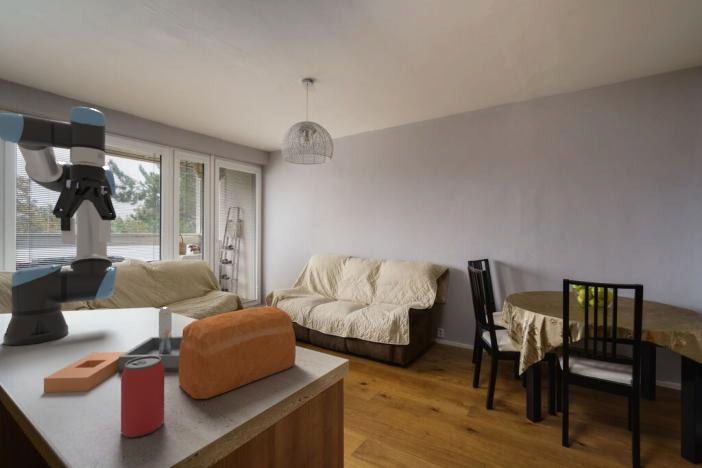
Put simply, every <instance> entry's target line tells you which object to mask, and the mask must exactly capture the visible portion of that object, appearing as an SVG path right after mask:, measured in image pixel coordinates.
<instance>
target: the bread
mask: <svg viewBox="0 0 702 468" xmlns="http://www.w3.org/2000/svg"><path fill="white" fill-rule="evenodd" d="M295 334H296V333H295V330H294V326H293V319H292V317H291V316H290V314H288V313H287V312H286V311H285V310H283V309H281V308H279V307H278V306H272V305H268V306H260V307H259V306H258V307H253V308H252V307H250V308H245V309H239V310H234V311H228V312H227V311H226V312H223V313H219V314H215V315H211V316H208V317H204V318H201V319H197V320H193V321H192V322H190V323H189V324H187V325H185V326H184V327H183V329H182V342H181V345H180V350H179V371H178V383H179V385H180V387H181V389H182V390H183V391H184V392H186V394H188V395H189V396H190V397H192V399H196V400H206V399H210V398H213V397H216V396H218V395H221V394H224V393H226V392H229V391H232V390H234V389H238V388H240V387H242V386H245V385H247V384H251V383H253V382H255V381H258V380H260V379H264V378H267V377H269V376H272V375H274V374H277V373H279V372H282V371H285V370H289V368H291V367H294V366H295V365H296V355H297V354H296V353H297V352H296V335H295Z"/></svg>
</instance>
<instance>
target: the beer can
mask: <svg viewBox="0 0 702 468" xmlns="http://www.w3.org/2000/svg"><path fill="white" fill-rule="evenodd" d="M164 422H165V372H164V366H163V364H162V362H161V358H160V357H159V356H144V357H139V358H135V359H132V360H130V361H128V362H127V363H126V364H125V368H124V371H123V373H121V378H120V432H121V434H122V435H123V436H124V437H126V438H140V437H144V436H147V435H150V434H151V433H154V432H155V431H157V430H159V428H160V427H161V426H162V425H163V424H164Z"/></svg>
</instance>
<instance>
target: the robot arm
mask: <svg viewBox="0 0 702 468" xmlns="http://www.w3.org/2000/svg"><path fill="white" fill-rule="evenodd" d="M106 124H107V123H106V115H105V114H104V113H103V112H102V111H100V110H97V109H94V108H92V107H91V108H90V107H87V106H73V107H71V109H70V115H69V122H68V121H67V122H66V121H61V120H56V119H55V120H54V119H49V118H48V119H47V118H42V117H37V116H30V115H23V114H20V113H8V112H2V113H0V139H1V140H2V141H4V142H9V143H12V144H16V145H17V147H18V149H19V152H20V153H21V156H22V157H23V159H24V162H25V165H24V169H25V170H24V171H25V172H26V175H27V176H28V178H30V180H32V182H34V183H36V184H37V185H39V186H41V187H43V188H45V189H46V190H50V191H52V192H57V193H60V194H59V196H58V198H57V200H56V203H55V206H54V208H53V210H52V215H53V216H54V217H55V218H56V219H60V230H61V231H60V232H61V245H76V259H74V260H72V261H71V262H70V267H67V268H63V266H62V265H61V264H59V263H57V264H48V265H47V264H46V265H40V266H33V267H27V268H22V269H19V270H16V271H14V272H13V274H12V275H11V284H10V287H11V316H10V317H11V318H10V321H9V322H8V324H7V325H8V326H7V327H6V331H5V333H4V334H3V345H6V346H25V345H27V346H28V345H34V344H39V343H44V342H49V341H53V340H57V339H60V338H62V337H64V336H66V335H68V334H69V325H68V324H67V321H66V319H65V316H64V314H63V312H62V304H68V303H79V302H87V301H90V302H91V301H98V300H104V299H109V298H111V297H112V296H113V294H114V290H115V289H114V288H115V284H116V283H115V282H116V276H117V270H118V269H117V268H118V267H117V266H116V265H113V261H112V260H111V259H110V258H108V254H107V253H108V250H107V249H108V248H107V247H108V246H107V245H108V243H111V240H112V239H111V232H112V231H111V229H112V227H111V225H112V221H115V220H116V218H117V214H116V210H115V207H114V204H113V201H112V197H114V196H116V181H115V177H114V172H113V170H112V169H111V168H110V167H108V166H106V126H107V125H106ZM54 148H57V149H63V150H64V149H65V150H69V162H66V161H58V160H57V158H56V154H55V149H54ZM76 212H77V221H76V218H73V217H74V215H75V214H76ZM76 224H77V225H76Z"/></svg>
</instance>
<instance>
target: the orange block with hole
mask: <svg viewBox="0 0 702 468" xmlns="http://www.w3.org/2000/svg"><path fill="white" fill-rule="evenodd" d="M126 352H127V351H110V352H109V351H107V352H106V351H105V352H104V351H103V352H101V351H99V352H91V353H90V354H88V355H86V356H84V357H82V358H80V359H79V360H77V361H74V362H73V363H71V364H69V365H67V366H65V367H63V368H62V369H61V368H60V369H59V370H58V371H55V372H54V373H51V374H50V375H48V376H46V377H44V378H43V393H64V392H66V393H67V392H89V391H90V390H91V389H93V388H95V387H96V386H97V385H98V384H100V383H102V382H104V381H105V380H106V379H108V378H109V377H111V376H112V375H114V374H115V373H117V372H119V356H121V355H123V354H124V353H126Z"/></svg>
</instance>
